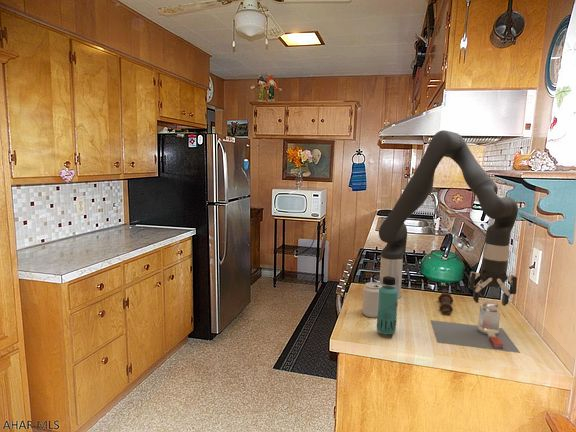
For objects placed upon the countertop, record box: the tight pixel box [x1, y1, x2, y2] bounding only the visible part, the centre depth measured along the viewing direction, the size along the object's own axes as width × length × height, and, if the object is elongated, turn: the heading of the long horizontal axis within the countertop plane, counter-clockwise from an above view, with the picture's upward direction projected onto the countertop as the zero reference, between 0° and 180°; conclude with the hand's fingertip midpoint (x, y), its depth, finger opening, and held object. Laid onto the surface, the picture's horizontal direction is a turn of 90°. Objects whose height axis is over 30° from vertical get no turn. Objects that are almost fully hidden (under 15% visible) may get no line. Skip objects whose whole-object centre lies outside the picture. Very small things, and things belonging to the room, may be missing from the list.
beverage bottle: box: [376, 276, 399, 335], centre depth 127 cm, size 6×7×20 cm
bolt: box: [437, 292, 454, 316], centre depth 151 cm, size 6×5×15 cm
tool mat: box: [429, 319, 521, 354], centre depth 127 cm, size 24×18×1 cm
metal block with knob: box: [478, 301, 501, 330], centre depth 129 cm, size 5×5×8 cm
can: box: [361, 282, 382, 319], centre depth 144 cm, size 8×8×12 cm
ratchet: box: [477, 322, 503, 349], centre depth 125 cm, size 6×15×5 cm, turn 166°
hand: (489, 303), depth 128 cm, fingers open, 8 cm apart
